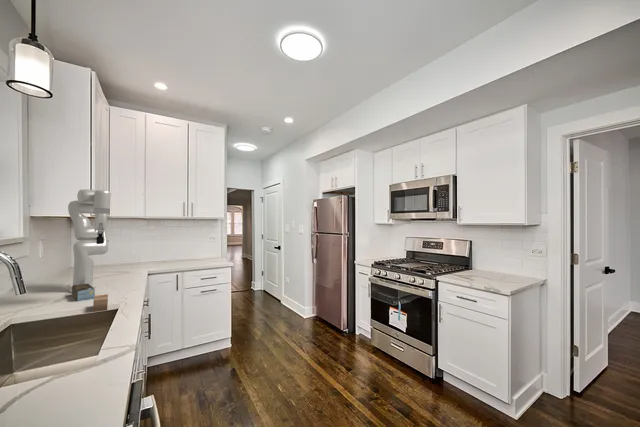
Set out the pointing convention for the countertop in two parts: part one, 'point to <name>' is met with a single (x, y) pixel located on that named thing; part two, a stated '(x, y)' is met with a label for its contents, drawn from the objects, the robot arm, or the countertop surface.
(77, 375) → the countertop surface
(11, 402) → the countertop surface
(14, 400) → the countertop surface
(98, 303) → the wooden block
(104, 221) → the robot arm
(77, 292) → the beverage carton
